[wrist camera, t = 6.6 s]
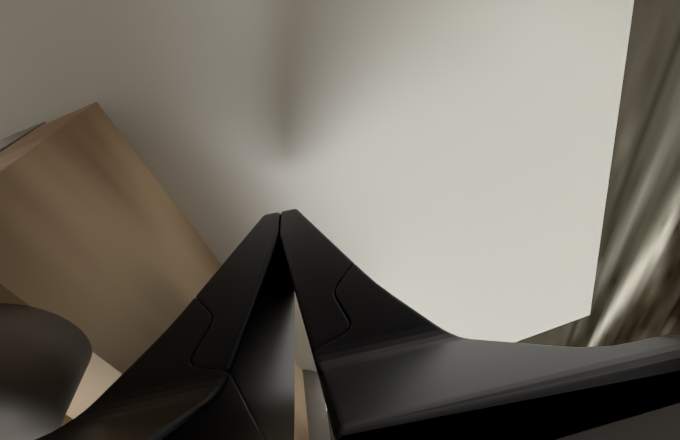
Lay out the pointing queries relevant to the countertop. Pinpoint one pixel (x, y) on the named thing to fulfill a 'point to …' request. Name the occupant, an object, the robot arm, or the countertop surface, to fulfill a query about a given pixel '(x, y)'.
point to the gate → (87, 270)
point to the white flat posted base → (359, 134)
